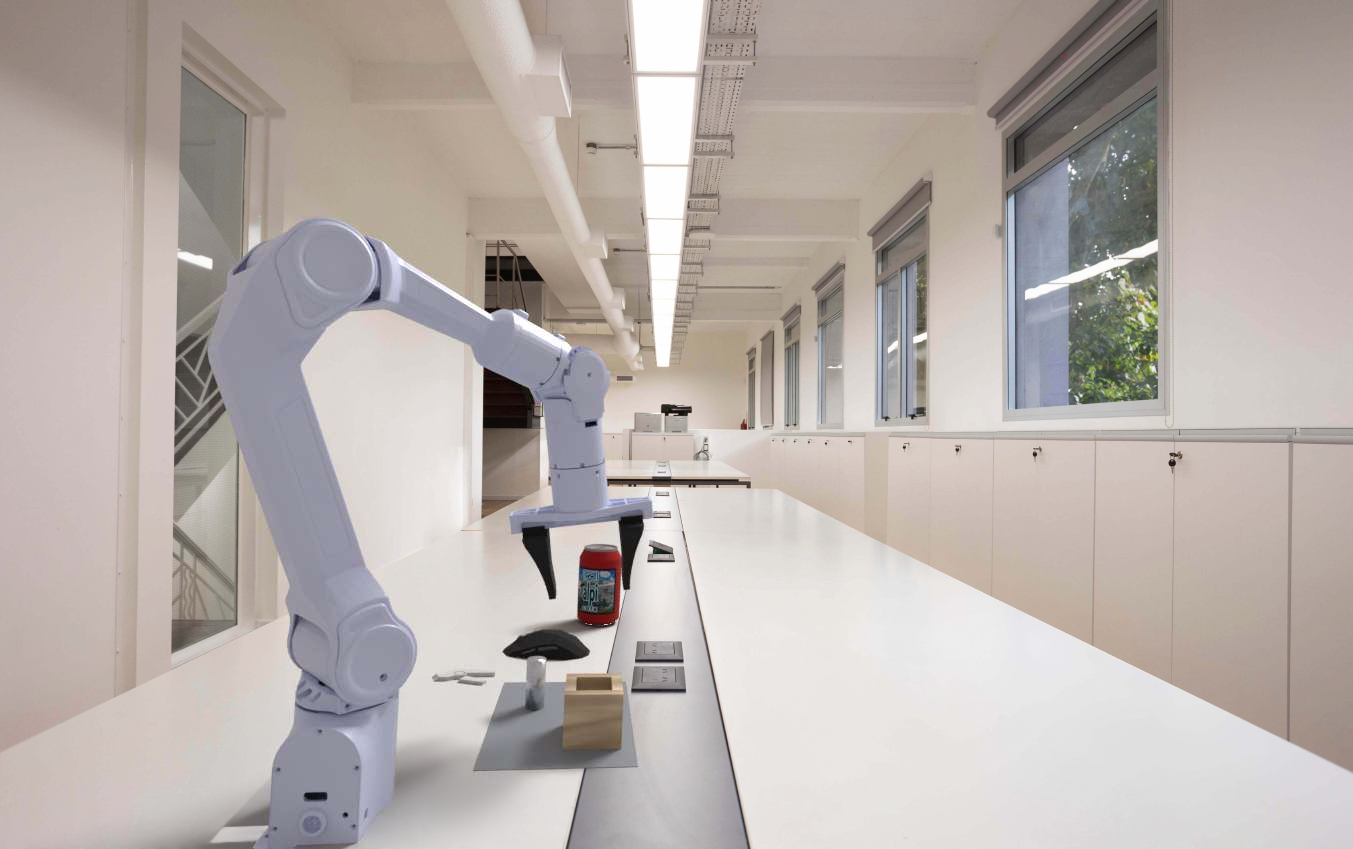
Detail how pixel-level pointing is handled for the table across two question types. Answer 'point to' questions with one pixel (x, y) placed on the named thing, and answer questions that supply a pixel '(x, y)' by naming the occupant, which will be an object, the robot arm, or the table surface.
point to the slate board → (544, 735)
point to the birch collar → (593, 711)
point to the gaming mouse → (547, 646)
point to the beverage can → (599, 584)
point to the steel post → (535, 683)
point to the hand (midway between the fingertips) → (589, 591)
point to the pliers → (464, 676)
